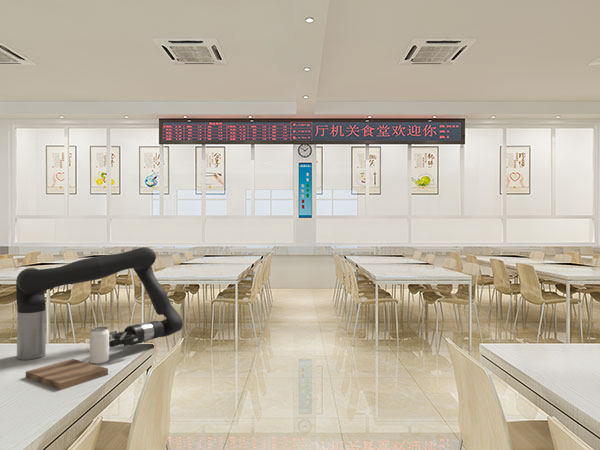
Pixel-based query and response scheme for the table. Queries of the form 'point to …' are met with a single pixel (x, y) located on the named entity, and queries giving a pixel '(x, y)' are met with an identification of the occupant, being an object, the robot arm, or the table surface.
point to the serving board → (66, 373)
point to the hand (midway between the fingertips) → (102, 342)
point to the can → (99, 345)
